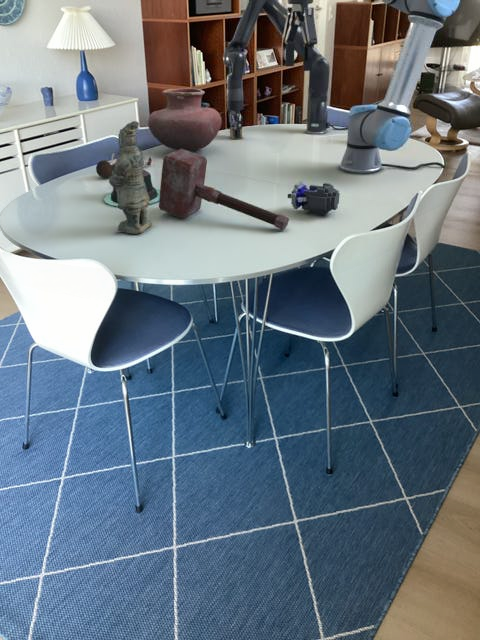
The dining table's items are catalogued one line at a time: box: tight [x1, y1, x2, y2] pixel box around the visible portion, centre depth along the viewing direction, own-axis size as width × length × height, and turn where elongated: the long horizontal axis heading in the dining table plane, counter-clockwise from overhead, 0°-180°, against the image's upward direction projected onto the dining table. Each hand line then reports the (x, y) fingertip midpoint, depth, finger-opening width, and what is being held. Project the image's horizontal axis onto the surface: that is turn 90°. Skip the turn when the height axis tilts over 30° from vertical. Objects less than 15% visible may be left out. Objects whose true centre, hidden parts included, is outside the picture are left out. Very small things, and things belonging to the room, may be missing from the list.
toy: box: [287, 180, 341, 216], centre depth 168 cm, size 9×9×15 cm
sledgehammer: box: [158, 149, 290, 231], centre depth 163 cm, size 17×10×40 cm
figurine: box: [95, 153, 153, 179], centre depth 214 cm, size 13×8×25 cm
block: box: [229, 126, 243, 140], centre depth 261 cm, size 5×4×5 cm
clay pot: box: [147, 87, 223, 153], centre depth 235 cm, size 30×30×25 cm
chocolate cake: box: [103, 168, 160, 207], centre depth 186 cm, size 15×19×20 cm
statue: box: [108, 120, 153, 235], centre depth 154 cm, size 11×9×30 cm
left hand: (235, 136), depth 262 cm, fingers open, 5 cm apart
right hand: (298, 68), depth 171 cm, fingers open, 13 cm apart
